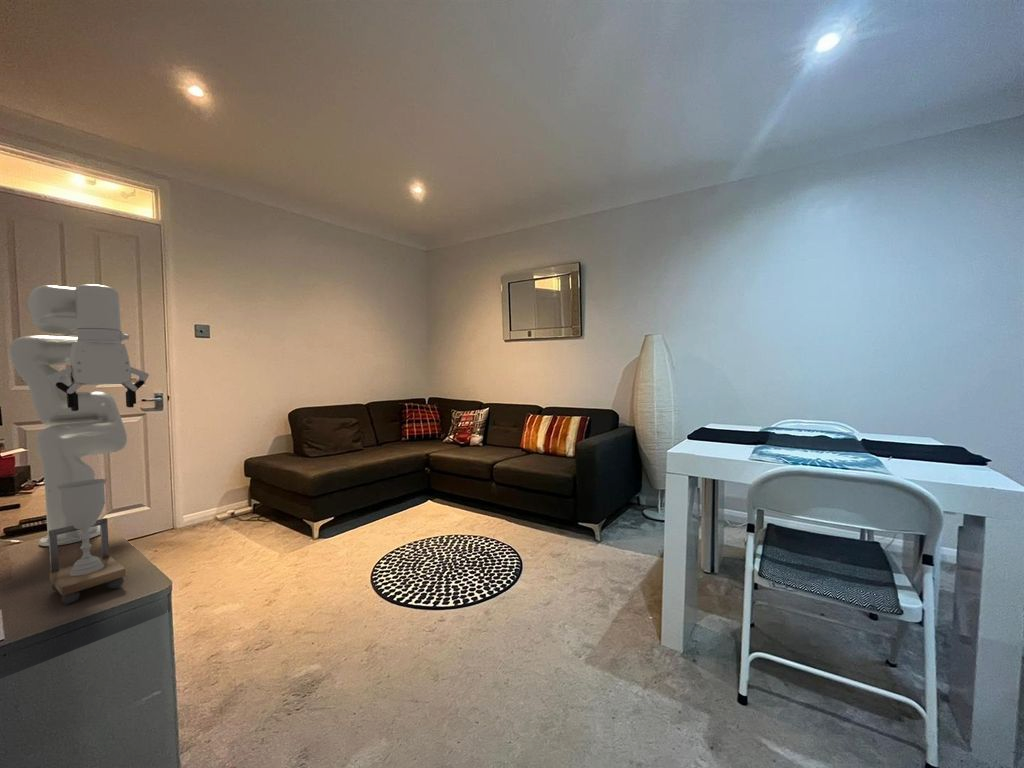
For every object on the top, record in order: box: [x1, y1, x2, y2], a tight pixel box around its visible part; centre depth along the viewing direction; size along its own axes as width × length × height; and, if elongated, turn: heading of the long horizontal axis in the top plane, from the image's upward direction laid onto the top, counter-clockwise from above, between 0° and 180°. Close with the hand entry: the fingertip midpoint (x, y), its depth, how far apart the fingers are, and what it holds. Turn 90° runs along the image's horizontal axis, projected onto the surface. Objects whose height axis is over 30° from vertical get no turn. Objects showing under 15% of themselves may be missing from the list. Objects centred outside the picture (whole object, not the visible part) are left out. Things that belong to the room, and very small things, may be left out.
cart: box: [47, 517, 126, 605], centre depth 85 cm, size 12×9×12 cm
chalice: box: [57, 478, 108, 576], centre depth 85 cm, size 7×7×18 cm
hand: (103, 408), depth 100 cm, fingers open, 9 cm apart
